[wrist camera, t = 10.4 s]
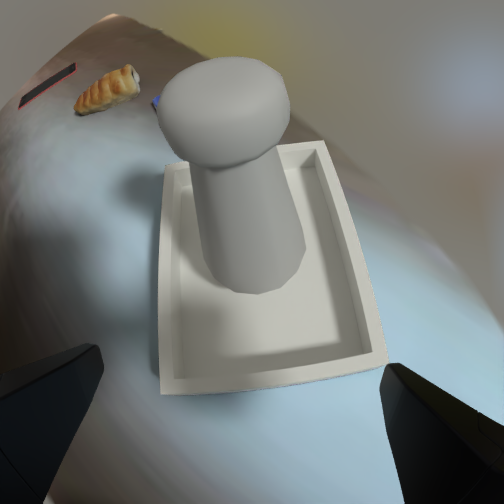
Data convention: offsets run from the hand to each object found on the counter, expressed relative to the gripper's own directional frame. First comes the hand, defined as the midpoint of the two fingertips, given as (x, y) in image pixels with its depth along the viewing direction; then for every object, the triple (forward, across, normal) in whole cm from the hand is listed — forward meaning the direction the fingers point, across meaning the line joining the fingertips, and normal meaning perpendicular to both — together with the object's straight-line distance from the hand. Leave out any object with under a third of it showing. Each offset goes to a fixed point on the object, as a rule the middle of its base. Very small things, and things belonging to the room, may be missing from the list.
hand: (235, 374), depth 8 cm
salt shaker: (+12, 0, 0) cm, 12 cm away
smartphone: (+40, +43, -25) cm, 63 cm away
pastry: (+29, +20, -16) cm, 39 cm away
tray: (+12, 0, 0) cm, 12 cm away
